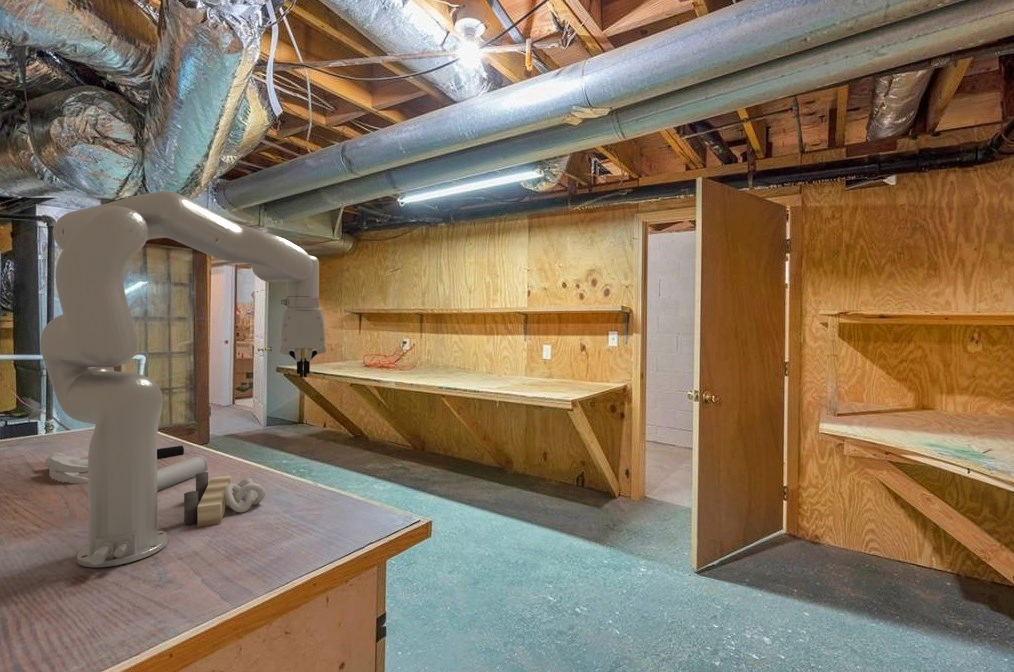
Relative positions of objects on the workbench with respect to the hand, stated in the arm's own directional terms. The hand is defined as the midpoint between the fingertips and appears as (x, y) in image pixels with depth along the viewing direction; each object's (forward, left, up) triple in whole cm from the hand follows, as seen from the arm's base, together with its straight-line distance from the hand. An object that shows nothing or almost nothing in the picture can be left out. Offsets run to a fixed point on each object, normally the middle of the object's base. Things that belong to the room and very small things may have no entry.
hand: (303, 376), depth 123 cm
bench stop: (-11, +19, -27) cm, 35 cm away
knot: (-13, +13, -27) cm, 33 cm away
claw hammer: (+35, +46, -28) cm, 64 cm away
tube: (+9, +32, -28) cm, 43 cm away
